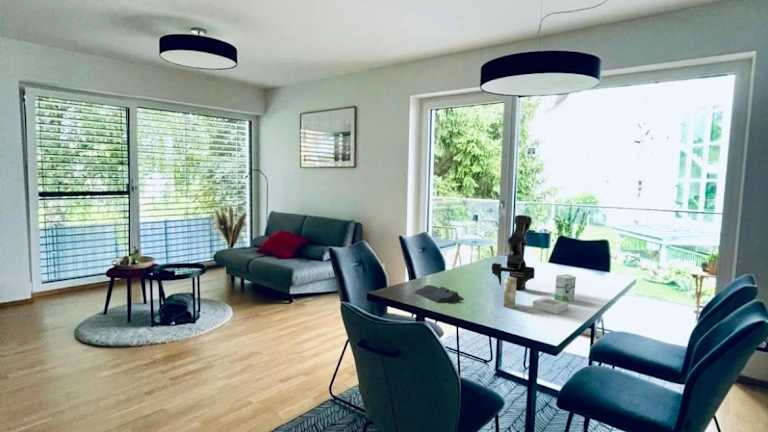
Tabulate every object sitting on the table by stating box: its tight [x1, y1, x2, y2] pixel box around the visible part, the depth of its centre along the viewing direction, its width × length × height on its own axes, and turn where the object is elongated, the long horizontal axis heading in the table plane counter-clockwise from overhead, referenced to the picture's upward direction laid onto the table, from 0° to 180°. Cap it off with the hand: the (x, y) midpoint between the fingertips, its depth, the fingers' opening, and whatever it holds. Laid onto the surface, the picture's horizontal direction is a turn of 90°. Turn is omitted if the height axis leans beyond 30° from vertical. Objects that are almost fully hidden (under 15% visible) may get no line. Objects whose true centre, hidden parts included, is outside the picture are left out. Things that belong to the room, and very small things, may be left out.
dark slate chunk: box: [413, 284, 464, 304], centre depth 204 cm, size 15×22×5 cm
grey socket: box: [532, 296, 569, 315], centre depth 190 cm, size 11×11×3 cm
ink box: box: [554, 274, 577, 302], centre depth 204 cm, size 9×5×12 cm, turn 120°
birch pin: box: [502, 276, 517, 309], centre depth 191 cm, size 5×5×13 cm
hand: (510, 286), depth 192 cm, fingers open, 9 cm apart
